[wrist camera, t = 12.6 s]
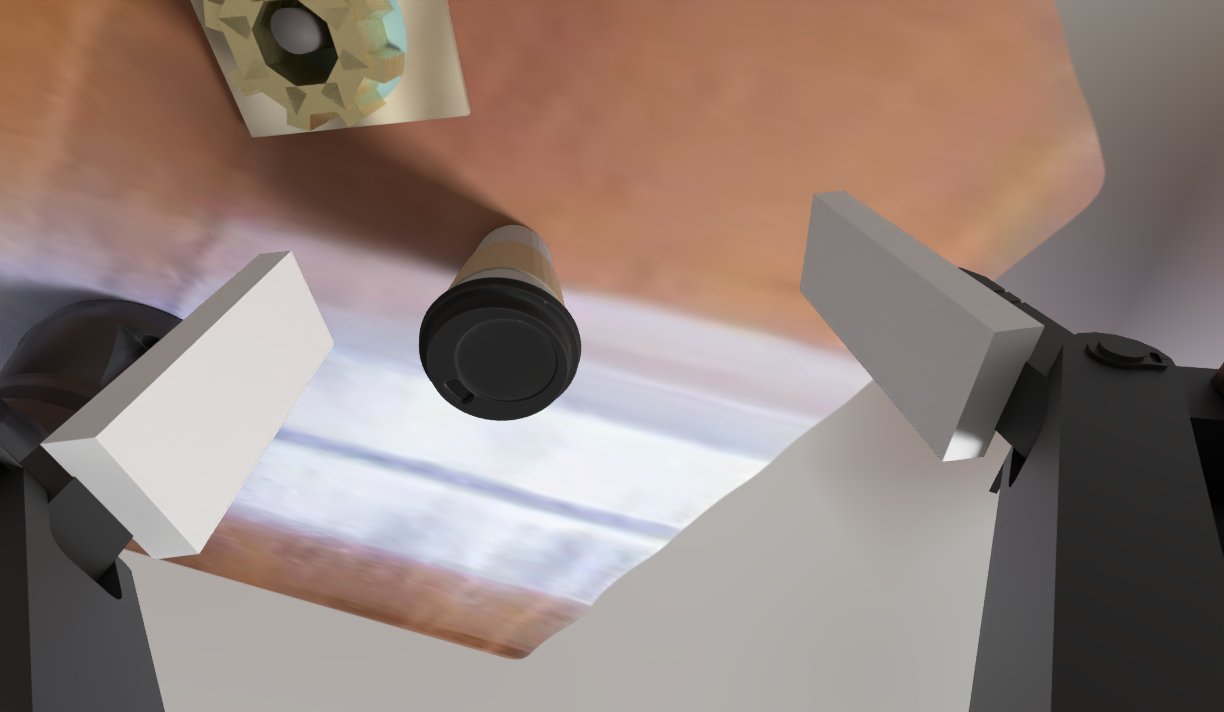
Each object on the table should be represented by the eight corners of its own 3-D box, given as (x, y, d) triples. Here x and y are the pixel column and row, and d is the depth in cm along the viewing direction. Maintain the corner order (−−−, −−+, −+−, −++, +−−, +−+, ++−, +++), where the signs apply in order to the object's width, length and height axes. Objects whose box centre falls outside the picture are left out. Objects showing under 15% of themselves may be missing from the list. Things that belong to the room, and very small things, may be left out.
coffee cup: (437, 280, 42) (387, 397, 30) (484, 177, 38) (449, 264, 26) (542, 327, 45) (537, 449, 33) (596, 237, 41) (613, 339, 29)
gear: (289, 120, 33) (251, 138, 29) (223, -45, 28) (167, -52, 24) (421, 107, 33) (402, 123, 29) (377, -59, 29) (348, -68, 25)
